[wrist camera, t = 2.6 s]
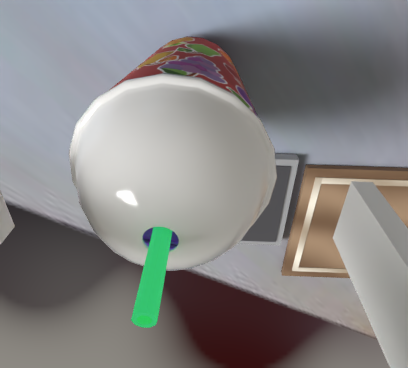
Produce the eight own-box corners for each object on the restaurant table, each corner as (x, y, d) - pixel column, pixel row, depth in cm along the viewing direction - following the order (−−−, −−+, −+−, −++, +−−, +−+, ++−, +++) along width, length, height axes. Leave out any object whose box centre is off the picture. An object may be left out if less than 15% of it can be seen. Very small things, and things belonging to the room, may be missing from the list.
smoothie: (139, 126, 27) (11, 385, 10) (137, 14, 22) (-108, 152, 5) (237, 136, 27) (273, 407, 10) (257, 28, 22) (382, 203, 6)
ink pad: (181, 150, 28) (180, 157, 27) (296, 154, 28) (299, 160, 27) (183, 235, 33) (182, 243, 32) (279, 238, 33) (281, 246, 32)
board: (305, 164, 28) (307, 168, 28) (465, 169, 28) (471, 173, 27) (281, 271, 36) (282, 276, 35) (406, 275, 36) (409, 280, 35)
